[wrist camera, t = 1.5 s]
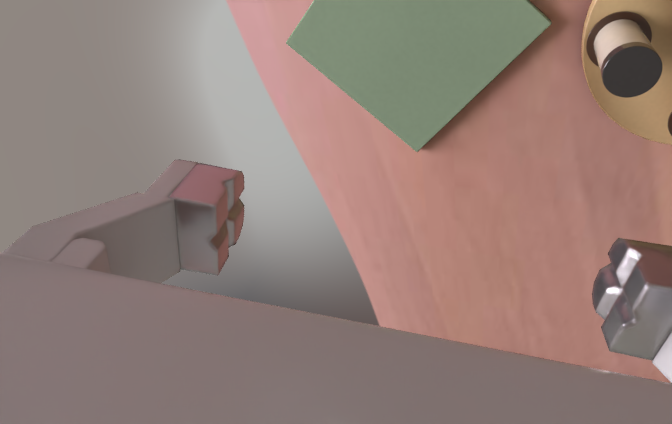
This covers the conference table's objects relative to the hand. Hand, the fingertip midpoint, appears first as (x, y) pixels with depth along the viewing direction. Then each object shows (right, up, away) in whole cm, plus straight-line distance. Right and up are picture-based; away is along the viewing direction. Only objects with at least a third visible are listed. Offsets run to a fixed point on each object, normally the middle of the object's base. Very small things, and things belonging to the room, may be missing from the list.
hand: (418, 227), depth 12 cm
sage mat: (+4, +15, +30) cm, 34 cm away
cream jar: (+18, +12, +24) cm, 32 cm away
